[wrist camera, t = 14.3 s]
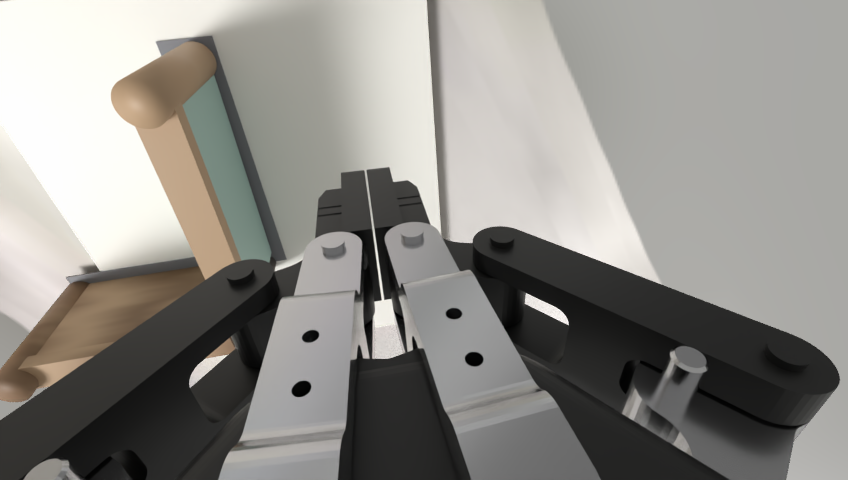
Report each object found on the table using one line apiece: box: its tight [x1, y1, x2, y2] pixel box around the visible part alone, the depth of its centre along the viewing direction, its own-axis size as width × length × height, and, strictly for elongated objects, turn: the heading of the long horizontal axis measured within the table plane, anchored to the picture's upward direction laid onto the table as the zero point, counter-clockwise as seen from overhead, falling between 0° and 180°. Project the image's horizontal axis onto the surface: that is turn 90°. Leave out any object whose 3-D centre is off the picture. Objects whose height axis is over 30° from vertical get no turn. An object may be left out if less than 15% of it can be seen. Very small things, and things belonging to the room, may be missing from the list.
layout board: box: [0, 0, 441, 328], centre depth 26 cm, size 24×24×1 cm
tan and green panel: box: [111, 41, 272, 280], centre depth 21 cm, size 13×2×7 cm, turn 3°
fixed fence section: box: [0, 257, 276, 402], centre depth 24 cm, size 13×2×8 cm, turn 94°
